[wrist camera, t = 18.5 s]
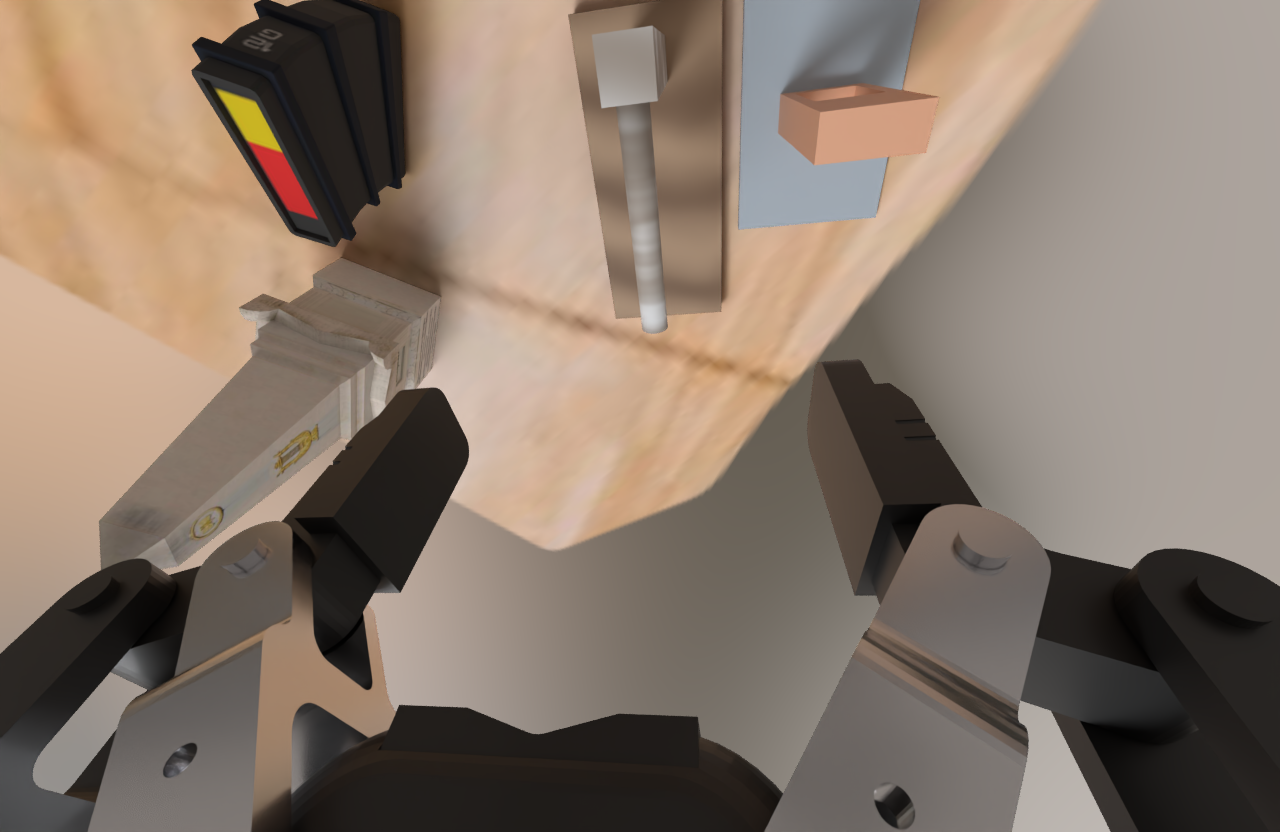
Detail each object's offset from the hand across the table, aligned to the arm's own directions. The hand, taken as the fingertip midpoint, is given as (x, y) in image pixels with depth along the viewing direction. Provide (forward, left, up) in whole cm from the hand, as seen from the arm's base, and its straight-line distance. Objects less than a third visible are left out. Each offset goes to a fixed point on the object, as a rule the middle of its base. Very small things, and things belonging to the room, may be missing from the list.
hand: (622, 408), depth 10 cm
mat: (-2, +11, -33) cm, 35 cm away
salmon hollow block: (-2, +11, -33) cm, 34 cm away
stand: (+2, -1, -33) cm, 33 cm away
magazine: (-5, -22, -33) cm, 40 cm away
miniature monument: (+12, -30, -33) cm, 46 cm away
